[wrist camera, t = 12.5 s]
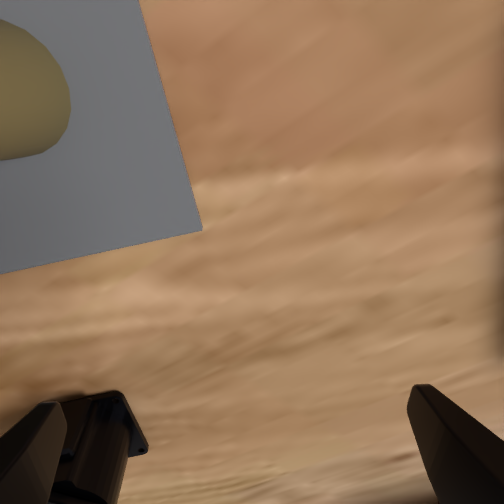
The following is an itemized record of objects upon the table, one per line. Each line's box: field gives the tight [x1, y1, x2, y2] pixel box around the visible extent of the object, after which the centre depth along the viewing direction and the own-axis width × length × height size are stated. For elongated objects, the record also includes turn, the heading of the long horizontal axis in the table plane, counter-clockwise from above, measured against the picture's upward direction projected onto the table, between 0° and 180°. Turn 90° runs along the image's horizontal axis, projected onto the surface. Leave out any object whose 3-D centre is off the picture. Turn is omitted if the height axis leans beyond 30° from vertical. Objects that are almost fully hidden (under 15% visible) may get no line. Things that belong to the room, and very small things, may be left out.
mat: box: [0, 0, 203, 274], centre depth 18 cm, size 18×14×1 cm
